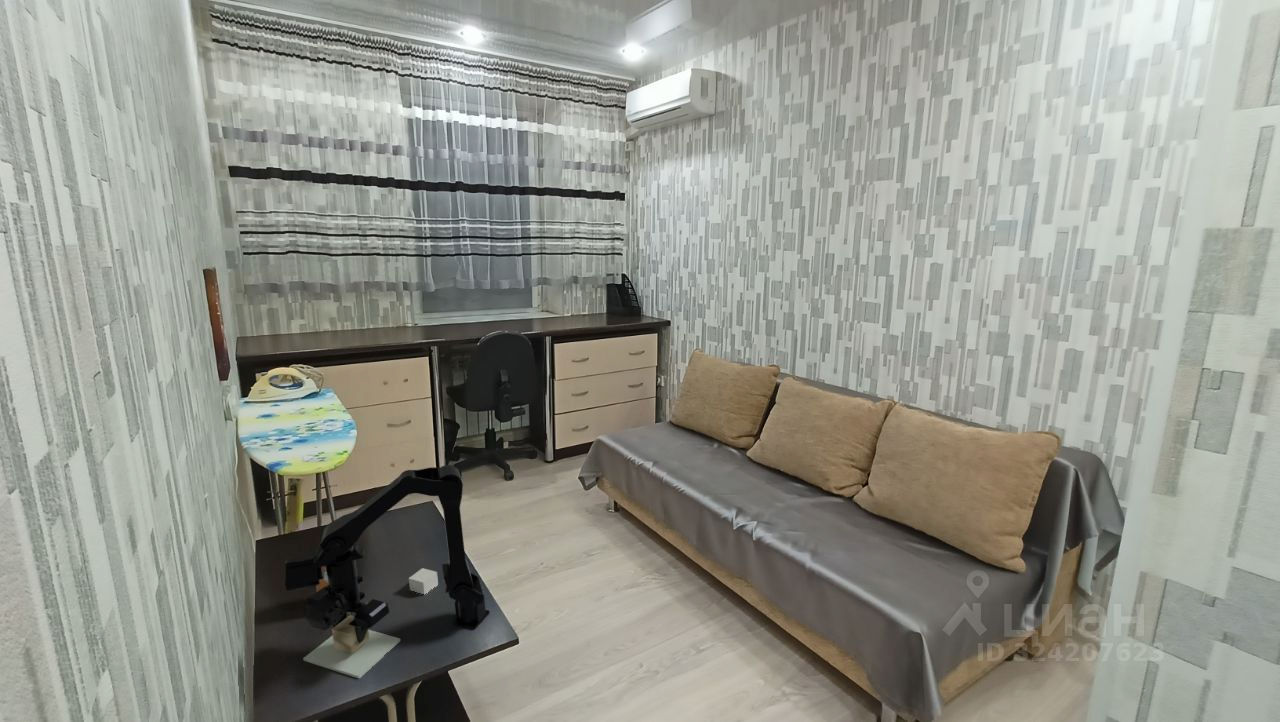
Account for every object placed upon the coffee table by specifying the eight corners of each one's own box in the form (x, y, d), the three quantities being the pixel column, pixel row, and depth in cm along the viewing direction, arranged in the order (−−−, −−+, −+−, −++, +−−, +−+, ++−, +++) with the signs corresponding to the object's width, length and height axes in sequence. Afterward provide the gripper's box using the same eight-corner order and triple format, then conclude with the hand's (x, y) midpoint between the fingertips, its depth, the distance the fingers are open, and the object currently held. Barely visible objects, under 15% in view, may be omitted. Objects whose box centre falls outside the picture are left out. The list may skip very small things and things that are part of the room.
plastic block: (438, 585, 150) (436, 572, 149) (424, 596, 146) (423, 582, 145) (423, 581, 152) (422, 568, 151) (410, 591, 148) (408, 578, 147)
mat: (400, 640, 129) (400, 638, 129) (359, 678, 118) (358, 676, 118) (347, 625, 135) (347, 623, 134) (303, 660, 123) (303, 658, 123)
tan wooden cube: (369, 638, 127) (366, 619, 126) (351, 653, 123) (349, 634, 122) (352, 633, 129) (350, 615, 128) (334, 648, 125) (331, 629, 123)
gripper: (278, 591, 118) (289, 654, 121) (345, 609, 112) (354, 675, 115) (323, 562, 128) (332, 621, 132) (386, 578, 122) (394, 639, 125)
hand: (351, 639), depth 126 cm, fingers open, 5 cm apart
